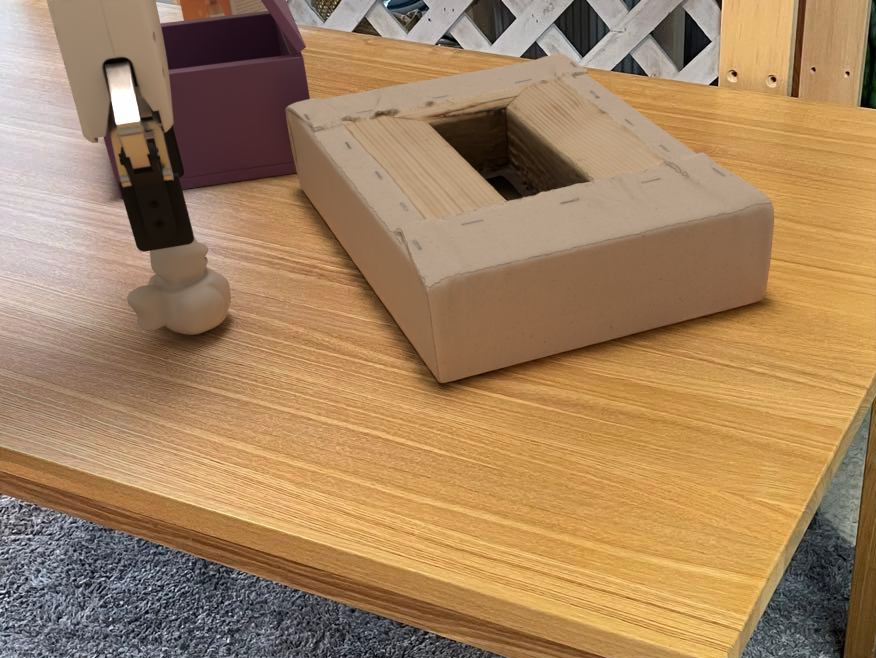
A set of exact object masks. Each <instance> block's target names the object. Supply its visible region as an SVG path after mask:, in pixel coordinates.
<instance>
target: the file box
mask: <svg viewBox="0 0 876 658" xmlns="http://www.w3.org/2000/svg"><path fill="white" fill-rule="evenodd" d="M160 24H161V29H162V34H163V40H164V45H165V51H166V57H167V64H168V71H169V79H170V88H171V99H172V110H173V121H174V124H173V128H174V132H175V136H176V140H177V144H178V148H179V152H180V156H181V160H182V164H183V168H184V175H183V176H182V177H181V178H179V179H180V183H181V187H182V190H187V189H194V188H201V187H209V186H216V185H222V184H229V183H236V182H242V181H249V180H257V179H263V178H271V177H279V176H285V175H292V174H297V171H296V165H295V161H294V157H293V153H292V148H291V142H290V136H289V131H288V125H287V119H286V111H285V109H286V107H287V106H289V105H291V104H293V103H296V102H299V101H303V100H308V99H311V97H310V91H309V85H308V78H307V71H306V66H305V58H304V56H303V54H302V51H300V52H299V53H298V52H297V51H296V50H295V48H294V47H293V46H292V44H291V43H290V41H289V40H288V38H287V37H286V35H285V34H284V33H283V31H282V30H281V28H280V27H279V25H278V24H277V23H276V21H275V20H274V18H273V17H272V15H271V14H270V13H269V11H262V12H253V13H244V14H236V15H227V16H219V17H210V18H202V19H193V20H185V21H184V20H177V21H169V22H168V21H167V22H160ZM114 116H115V115H114ZM102 138H103V141H104V145H105V148H106V151H107V155H108V159H109V162H110V166H111V170H112V174H113V177H114V180H115V185H116V187H117V192H118V196H119V198H120V199H123V198H122V195H121V191H120V188H119V182H121V180H120V176H119V172H118V168H117V163H116V159H115V155H114V150H113V146H112V141H111V137H110V135H109V128H108V124H107V131H106V137H102Z"/></svg>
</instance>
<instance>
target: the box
mask: <svg viewBox="0 0 876 658" xmlns="http://www.w3.org/2000/svg"><path fill="white" fill-rule="evenodd" d="M285 111H286V119H287V125H288V131H289V136H290V142H291V148H292V153H293V157H294V161H295V165H296V171H297V173H296V174H297V177H298V181H299V185H300V188H301V190H302V192H303V193H304V194H305V195H306V197H307V199H308V200H309V201H310V203H311V204H312V206H313V207H314V208H315V210H316V211H317V212H318V214H319V215H320V216H321V217H322V219H323V220H324V222H325V223H326V224H327V226H328V228H329V230H331V232H332V233H333V234H334V236H335V238H336V239H337V240H338V242H339V243H340V245H341V246H342V247H343V249H344V250H345V251H346V253H347V255H348V256H349V257H350V259H351V260H352V262H353V263H354V265H355V266H356V267H357V269H358V270H359V271H360V272H361V274H362V275H363V277H364V278H365V280H366V281H367V283H368V284H369V285H370V287H371V289H372V290H373V291H374V293H375V295H376V296H377V297H378V298H379V300H380V301H381V302H382V304H383V306H384V307H385V308H386V310H387V311H388V312H389V313H390V315H391V317H392V318H393V319H394V321H395V322H396V324H397V325H398V326H399V328H400V330H401V331H402V332H403V334H404V335H405V337H406V338H407V339H408V341H409V342H410V343H411V345H412V346H413V348H414V349H415V350H416V352H417V354H418V355H419V357H420V358H421V359H422V361H423V362H424V363H425V365H426V366H427V368H428V370H430V372H431V373H432V374H433V376H434V377H435V379H436V380H437V382H438V383H440V384H446V383H448V382H449V383H450V382H454V381H458V380H461V379H466V378H468V377H472V376H477V375H480V374H484V373H487V372H488V373H489V372H491V371H495V370H499V369H502V368H507V367H511V366H515V365H518V364H522V363H526V362H531V361H533V360H538V359H542V358H545V357H549V356H552V355H556V354H560V353H564V352H568V351H572V350H576V349H580V348H584V347H587V346H592V345H595V344H599V343H604V342H606V341H611V340H614V339H618V338H623V337H626V336H630V335H633V334H638V333H642V332H645V331H650V330H652V329H653V330H654V329H658V328H662V327H665V326H669V325H673V324H677V323H681V322H685V321H688V320H693V319H697V318H700V317H704V316H709V315H712V314H716V313H720V312H724V311H727V310H731V309H735V308H739V307H743V306H747V305H751V304H755V303H757V302H761V300H763V299H764V297H765V295H766V292H767V287H768V280H769V274H770V266H771V258H772V248H773V239H774V227H775V209H774V205H773V202H772V200H771V199H770V198H769V197H768V195H766V194H765V193H764V192H763V191H761V190H760V189H759V188H758V187H756V186H755V185H753V184H752V183H750V182H749V181H748V180H746V179H743V178H742V177H740V176H739V175H736V174H735V173H733V172H732V171H730V170H728V169H726V168H725V167H723V166H721V165H720V164H719V163H718V162H717V161H715V159H713V158H711V156H709V155H708V154H707V153H705V152H702V151H701V152H697V153H696V152H695V151H694V150H692V149H691V148H690V147H688V146H687V145H685V143H683V142H682V141H680V140H679V139H677V138H675V137H674V136H673V135H672V134H670V133H668V132H667V131H666V130H665V129H663V128H662V127H660V126H659V125H658V124H656V123H654V121H652V120H651V119H649V118H648V117H647V116H645V115H644V114H643V113H641V112H639V111H638V110H637V109H636V108H634V107H633V106H631V104H628V103H627V102H626V101H625V100H623V99H622V98H620V97H619V96H618V95H616V94H615V93H613V92H612V91H611V90H610V89H608V88H606V86H604V85H602V84H601V83H599V82H598V81H597V80H596V79H594V78H593V77H591V76H590V75H589V71H588V70H587V69H586V68H585V67H584V66H582V64H581V65H580V64H579V63H578V62H577V61H575V60H574V59H572V58H571V57H569V56H568V55H567V54H565V53H556V54H551V55H545V56H542V57H539V58H537V59H533V60H530V61H524V62H518V63H513V64H508V65H507V64H506V65H503V66H497V67H491V68H486V69H481V70H475V71H469V72H464V73H458V74H452V75H447V76H441V77H435V78H429V79H425V80H418V81H414V82H409V83H402V84H401V83H400V84H396V85H391V86H385V87H378V88H374V89H370V90H366V91H365V90H364V91H358V92H353V93H347V94H343V95H342V94H341V95H337V96H330V97H329V96H328V97H325V98H323V97H322V98H321V97H314V98H310V99H308V100H303V101H299V102H296V103H293V104H291V105H289V106H287V107H286V109H285Z"/></svg>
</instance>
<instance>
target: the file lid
mask: <svg viewBox="0 0 876 658" xmlns="http://www.w3.org/2000/svg"><path fill="white" fill-rule="evenodd" d="M261 1H262V3H263V4H264V5H265V7H266V8H267V10H268V11H269V13H270V14H271V15H272V17H273V18H274V20H275V21H276V23H277V24H278V25H279V27H280V28H281V30H282V31H283V33H284V34H285V35H286V37H287V38H288V40H289V41H290V43H291V44H292V46H293V47H294V48H295V50H296V51H297V52H298V53H299V52H300V51H301V52H302V51H303V50H305V49H306V48H307V45H306V43H305V41H304V38H303V36H302V34H301V31H300V30H299V27H298V25H297V22H296V19H295V18H294V16H293V14H292V13H293V12H292V11H291V8H290V7H289V4H288V2H287V0H261Z"/></svg>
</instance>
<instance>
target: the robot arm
mask: <svg viewBox="0 0 876 658" xmlns="http://www.w3.org/2000/svg"><path fill="white" fill-rule="evenodd" d="M46 4H47V7H48V8H47V9H48V11H49V15H50V19H51V23H52V25H53V30H54V33H55V36H56V40H57V44H58V49H59V51H60V54H61V58H62V63H63V65H64V69H65V73H66V76H67V79H68V83H69V87H70V90H71V91H70V92H71V94H72V98H73V102H74V106H75V109H76V113H77V117H78V121H79V125H80V129H81V133H82V136H83V138H85V139H86V140H87V141H89V142H90V143H92V144H97V143H99V138H103V137H106V131H107V124H108V128H109V135H110V137H111V141H112V146H113V150H114V155H115V159H116V163H117V168H118V172H119V176H120V180H121V182H119V188H120V191H121V195H122V198H121V199H122V202H123V204H124V209H125V212H126V215H127V219H128V223H129V225H130V228H131V233H132V237H133V240H134V243H135V246H136V248H137V250H138V251H140V252H142V253H143V252H145V253H146V252H150V251H152V250H158V249H164V248H170V247H176V246H182V245H188V244H191V243H192V242H193V241H194V237H195V236H194V235H195V234H194V231H193V230H194V229H193V226H192V222H191V219H190V215H189V211H188V207H187V202H186V199H185V195H184V191H183V189H182V187H181V183H180V179H179V178H181V177H182V176H183V175H184V168H183V164H182V160H181V156H180V152H179V148H178V144H177V140H176V136H175V132H174V128H173V124H174V121H173V110H172V99H171V88H170V79H169V71H168V64H167V57H166V51H165V45H164V40H163V34H162V29H161V24H160V23H161V20H160V14H159V9H158V4H157V1H156V0H46ZM114 115H115V116H114Z"/></svg>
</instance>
